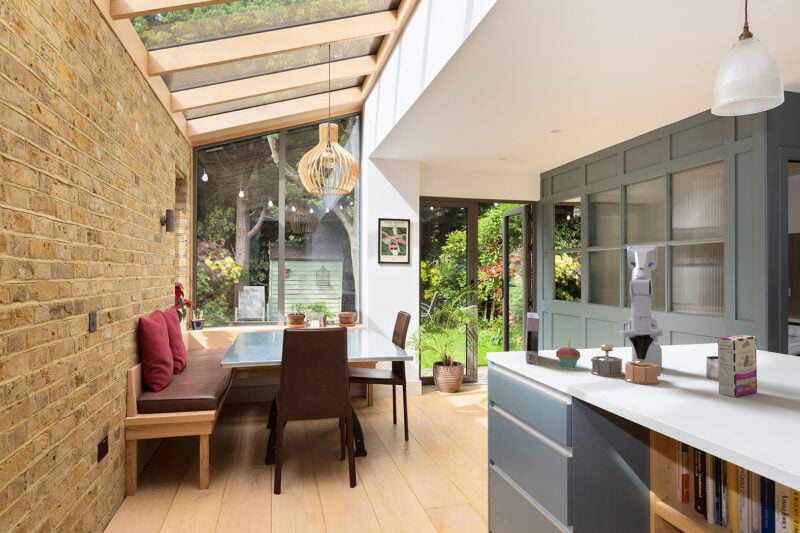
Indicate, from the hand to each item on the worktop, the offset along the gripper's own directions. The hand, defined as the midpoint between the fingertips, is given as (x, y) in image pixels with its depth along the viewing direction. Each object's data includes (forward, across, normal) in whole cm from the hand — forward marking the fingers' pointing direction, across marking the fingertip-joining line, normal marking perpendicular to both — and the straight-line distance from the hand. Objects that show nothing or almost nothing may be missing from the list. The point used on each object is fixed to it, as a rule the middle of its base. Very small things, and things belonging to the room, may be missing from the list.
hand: (641, 359), depth 160 cm
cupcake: (+7, -11, +25) cm, 28 cm away
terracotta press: (+7, 0, 0) cm, 7 cm away
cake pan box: (+7, -17, +41) cm, 45 cm away
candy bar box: (+7, +16, -20) cm, 27 cm away
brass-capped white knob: (+6, 0, 0) cm, 6 cm away
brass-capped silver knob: (+3, -4, +12) cm, 13 cm away
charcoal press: (+7, -4, +12) cm, 14 cm away
